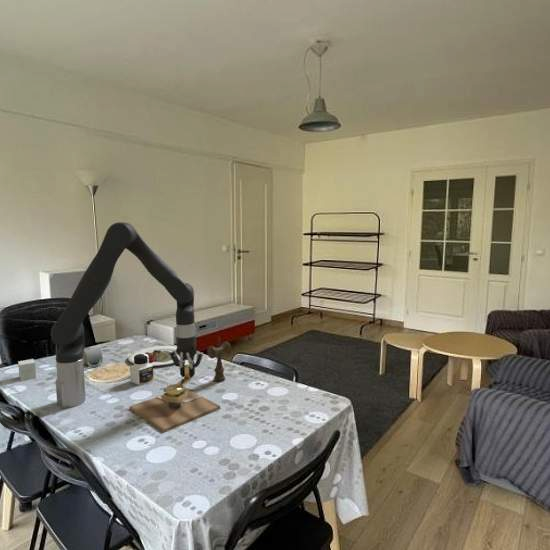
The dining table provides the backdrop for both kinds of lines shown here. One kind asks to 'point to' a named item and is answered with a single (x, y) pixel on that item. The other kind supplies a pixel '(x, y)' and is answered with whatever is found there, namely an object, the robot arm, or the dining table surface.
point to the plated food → (156, 355)
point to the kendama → (219, 358)
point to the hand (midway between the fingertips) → (187, 376)
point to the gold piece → (177, 388)
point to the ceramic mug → (92, 357)
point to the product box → (27, 369)
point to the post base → (174, 410)
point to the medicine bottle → (141, 370)
